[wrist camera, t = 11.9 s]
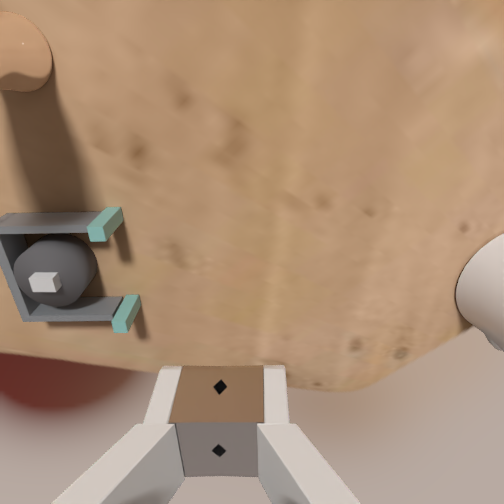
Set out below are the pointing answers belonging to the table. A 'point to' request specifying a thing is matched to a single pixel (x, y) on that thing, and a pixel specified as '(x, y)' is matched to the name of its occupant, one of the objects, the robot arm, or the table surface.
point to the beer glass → (22, 54)
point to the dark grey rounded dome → (55, 269)
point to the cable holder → (94, 223)
